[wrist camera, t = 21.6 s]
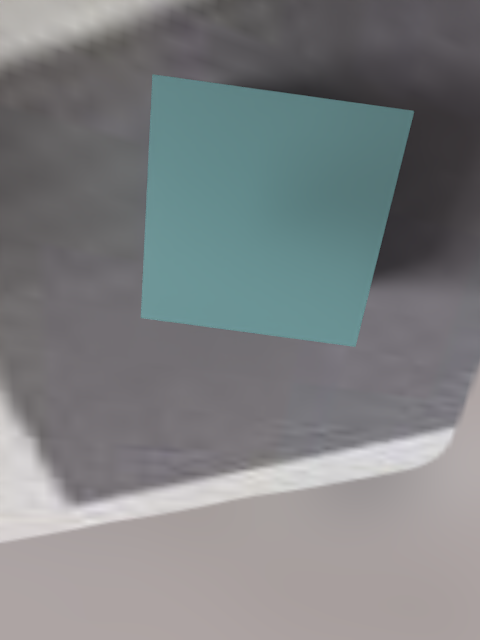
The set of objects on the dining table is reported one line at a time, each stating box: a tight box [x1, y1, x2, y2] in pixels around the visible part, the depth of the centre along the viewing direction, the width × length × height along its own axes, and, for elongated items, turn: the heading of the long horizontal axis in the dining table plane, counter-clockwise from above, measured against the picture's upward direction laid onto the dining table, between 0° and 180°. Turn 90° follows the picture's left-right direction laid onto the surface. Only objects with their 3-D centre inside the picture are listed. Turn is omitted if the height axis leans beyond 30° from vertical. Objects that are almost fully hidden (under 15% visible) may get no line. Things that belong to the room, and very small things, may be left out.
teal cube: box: [141, 75, 414, 347], centre depth 23 cm, size 10×10×9 cm
